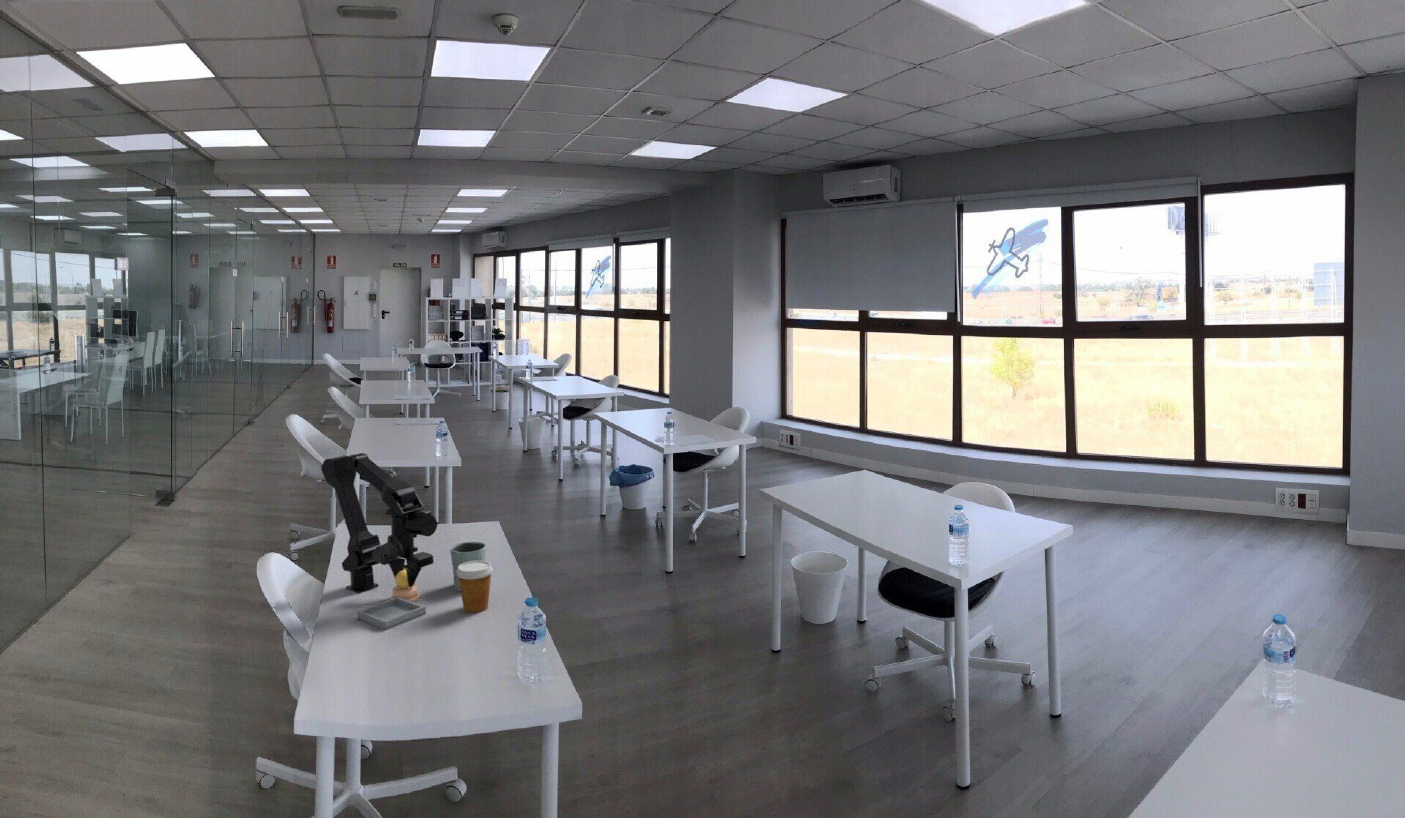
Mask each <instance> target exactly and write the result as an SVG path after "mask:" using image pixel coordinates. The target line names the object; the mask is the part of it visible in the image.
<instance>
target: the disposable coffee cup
mask: <svg viewBox="0 0 1405 818" xmlns="http://www.w3.org/2000/svg"><path fill="white" fill-rule="evenodd" d="M493 570H494V568H493V567H492V564H491V562H489V561H486V560H485V561H470V562H465V563H463V564H461V565H459V566H458V570H457V571H456V573H457V575H458V577H459V583H460V589H461V591H460V594H461V599H462V607H463V611H465V612H467V613H474V614H475V613H480V612H481V613H482V612H484V611H485V610H487V609H489V598H490V589H491V579H492V573H493Z"/></svg>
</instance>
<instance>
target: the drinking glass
mask: <svg viewBox="0 0 1405 818" xmlns="http://www.w3.org/2000/svg"><path fill="white" fill-rule="evenodd" d="M449 549H450V556H451V557H450V558H451V565H452V572H453V573H452V574H453V585H454V590H456V591H458V592H461V589H460V583H459V577H458V575H457V573H456V571H457V570H458V566H459V565H461V564H463V563H465V562H470V561H486V558H487V557H486V556H487V545H486V543H485V542H479V541H466V542H460V543H456V544H454V545H452V546H451V547H450V548H449Z"/></svg>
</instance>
